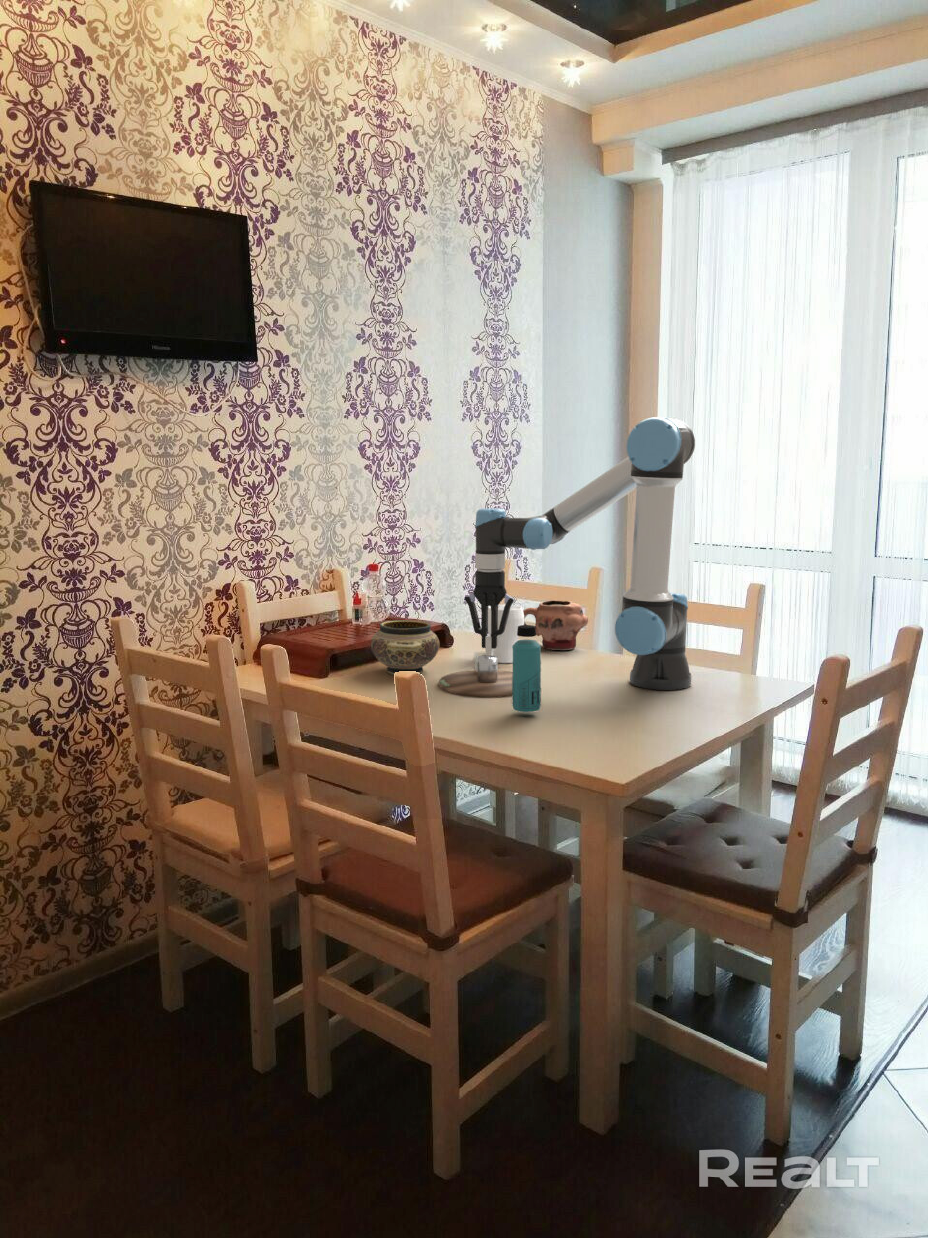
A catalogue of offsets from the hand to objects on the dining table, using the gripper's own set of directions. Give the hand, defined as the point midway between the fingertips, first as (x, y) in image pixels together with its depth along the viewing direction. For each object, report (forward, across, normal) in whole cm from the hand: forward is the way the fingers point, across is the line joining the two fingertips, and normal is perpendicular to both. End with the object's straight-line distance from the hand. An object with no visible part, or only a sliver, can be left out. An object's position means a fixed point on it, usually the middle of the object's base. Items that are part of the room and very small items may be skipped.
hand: (489, 660), depth 241 cm
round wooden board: (+4, -2, +9) cm, 10 cm away
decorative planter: (+4, -11, -39) cm, 40 cm away
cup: (+4, 0, -19) cm, 20 cm away
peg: (+3, 0, +5) cm, 6 cm away
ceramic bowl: (+5, +22, +1) cm, 23 cm away
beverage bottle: (+4, -16, +33) cm, 37 cm away
